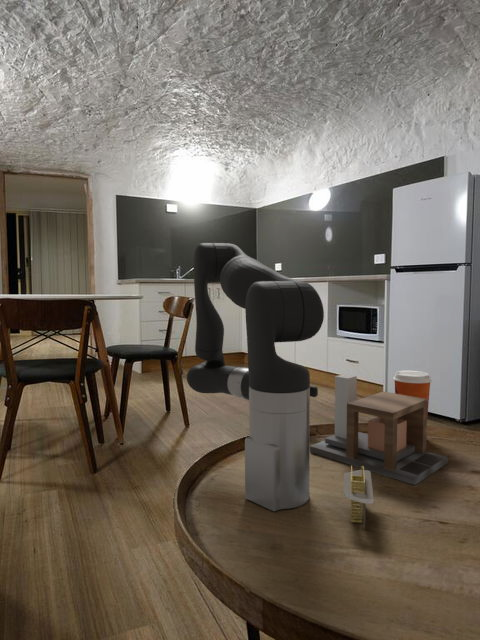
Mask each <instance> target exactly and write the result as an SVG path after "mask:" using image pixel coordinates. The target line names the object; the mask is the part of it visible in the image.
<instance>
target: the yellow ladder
mask: <svg viewBox="0 0 480 640" xmlns="http://www.w3.org/2000/svg"><path fill="white" fill-rule="evenodd" d="M350 467H351V468H350V471H347V472H345V473H343V487H342V488H343V490H342V494H343V497H344V498H345V499H348V500H350V523H360V524H362V525H363V530H366V504H368V505H371V504H372V505H373V504H374V491H373V481H372V473H371V472H372V471H369V470H365V469H364V466H361V467H362V468H361V469H358V470H353V465H350Z"/></svg>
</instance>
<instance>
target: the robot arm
mask: <svg viewBox="0 0 480 640" xmlns="http://www.w3.org/2000/svg"><path fill="white" fill-rule="evenodd" d="M193 255H194V256H193V286H194V287H193V289H194V303H195V304H194V305H195V317H196V321H195V322H196V327H195V328H196V331H195V345H194V352H195V354H196V357H198V359H200V360H204V361H203V362H201V363H198V364H196V365H194V366H192V367H190V369H188V371H187V374H186V382H187V384H188V386H189V387H190V388H191V389H192V390H193V391H195V392H196V393H199V394H200V393H201V394H226V395H230V396H234V397H237V398H238V399H241V400H246V401H249V403H248V404H249V406H248V409H249V410H248V412H249V414H248V417H249V420H248V421H249V422H248V423H249V425H248V426H249V428H248V429H249V435H248V436H247V437H245V439H244V474H245V475H244V491H245V493H244V497H245V499H246V500H249V501H251V502H253V503H255V504H257V505H260V506H261V507H264V508H266V509H268V510H269V511H272V512H278V511H279V510H284V509H287V510H288V509H293V508H298V507H301V506H303V505H304V504H306V503H307V502H308V500H309V499H310V446H311V445H310V442H311V441H310V437H311V436H310V432H311V431H310V428H311V427H310V421H311V419H310V416H311V415H310V409H311V407H310V406H311V405H310V404H311V401H310V400H311V397H312V398H317V397H318V394H319V389H318V387H317V386H313V385H310V384H311V383H310V382H311V378H310V377H311V376H310V371H309V369H308V368H307V367H305V366H304V365H301V364H299V363H295V362H292V361H289V360H286V359H284V358H282V357H281V356H279V355H278V353H277V352H276V347H275V344H276V343H293V342H296V343H297V342H303V341H306V340H309V339H312V338H313V337H315V336H316V335H317V334H318V332H319V331H320V329H322V327H323V326H322V325H323V323H324V318H325V311H324V304H323V301H322V299H321V297H320V294H319V293H318V291H317V290H316V288H315V287H314V286H313V285H311V284H310V283H308V282H306V281H303V280H298V279H296V278H295V279H294V278H292V277H289V276H286V275H283V274H281V273H280V272H277V271H276V270H274V269H273V268H271V267H269V266H267V265H266V264H264V263H263V262H261V261H259V260H257V259H255V258H254V257H252V256H249V255H247V254H246V253H245V252H244V251H243V250H242V249H241V248H240V247H239V246H238V245H236V244H234V243H225V242H221V243H220V242H218V243H217V242H202V243H199V244H197V246H196V248H195V249H194V254H193ZM215 283H216V284H220V287H221V289H222V291H223V293H224V294H225V296H226V297H227V298H228V299H230V301H231V302H232V303H233V304H235V305H236V306H238V307H240V308H242V309H244V310H245V311H244V312H245V326H246V327H245V328H246V329H245V330H246V343H247V345H246V346H247V348H246V349H247V367H239V366H234V365H233V366H232V365H226V362H225V357H224V353H223V347H224V336H225V327H224V323H223V320H222V318H221V316H220V314H219V312H218V311H217V309H216V307H215V305H214V304H213V302H212V300H211V297H210V294H209V289H208V286H209V285H208V284H215Z"/></svg>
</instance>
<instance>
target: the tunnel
mask: <svg viewBox="0 0 480 640" xmlns="http://www.w3.org/2000/svg"><path fill="white" fill-rule="evenodd" d="M359 413H360V414H363V415H369V416H373V417H382V418H385V436H384V460H382V459H378V458H375V457H371V456H368V455H364V454H361V453H358V432H359ZM397 418H398V419H403V420H407V432H406V444H409V445H413V446H415V452H413V453H411V454H409V455H408V456H406V457H404V458H402V459H400V460H399V461H397ZM427 424H428V416H427V399H424V398H418V397H412V396H406V395H401V394H395V392H388V391H381V392H378V393H377V392H376V393H374V394H371V395H368V396H365V397H362V398H359V399H356V401H352V402H349V403H347V445H346V449H344V448H340V447H337V446H333V445H330V444H326V443H325V439H324V440H322V441H320V442H317V443H314V444H311V445H310V448H309V453H311V454H315V455H319V456H322V457H325V458H327V459H331V460H334V461H337V462H340V463H343V464H347V465H350V466H352V467H356V468H360V469H362V467H361V466H364V470H368V471H370V472H373V473H375V474H379V475H382V476H385V477H387V478H391V479H395V480H397V481H400V482H404V483H407V484H410V485H413V486H415V485H417V484H418V483H420V482H422V481H423V480H425V479H426V478H428V477H429V476H431V475H432V474H434V473H435V472H437V471H439V469H442V468H443V467H444V466H446V465H447V464H448V463H449V459H448V458H449V457H448V456H446V455H442V454H438V453H434V452H430V451H427V440H428V439H427V438H428V437H427V436H428V435H427V434H428V431H427V429H428V425H427Z"/></svg>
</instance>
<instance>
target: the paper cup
mask: <svg viewBox="0 0 480 640" xmlns="http://www.w3.org/2000/svg"><path fill="white" fill-rule="evenodd" d="M392 379H393V380H394V393H395V394H401V395H406V396H412V397H418V398H424V399H427V417H428V414H429V405H430V404H429V403H430V391H431V382H433V381H434V380H433V379H432V376H431V375H430V373H429V372H425V371H420V370H408V369H407V370H398V371H395V374H394V376H393V378H392Z"/></svg>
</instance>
